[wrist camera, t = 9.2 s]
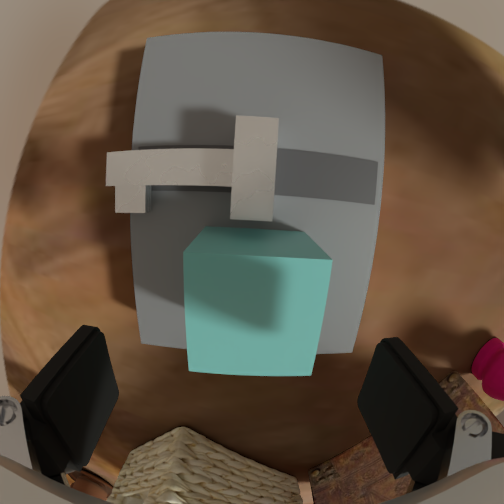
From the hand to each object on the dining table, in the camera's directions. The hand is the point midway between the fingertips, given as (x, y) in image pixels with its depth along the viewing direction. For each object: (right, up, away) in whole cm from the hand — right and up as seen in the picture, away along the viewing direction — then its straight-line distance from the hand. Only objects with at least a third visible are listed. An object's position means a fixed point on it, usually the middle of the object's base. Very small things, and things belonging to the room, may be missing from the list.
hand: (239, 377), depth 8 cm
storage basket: (-5, -27, +22) cm, 35 cm away
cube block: (0, +3, +9) cm, 9 cm away
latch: (-4, +9, +7) cm, 12 cm away
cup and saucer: (-32, -44, +26) cm, 60 cm away
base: (+1, +8, +12) cm, 14 cm away
